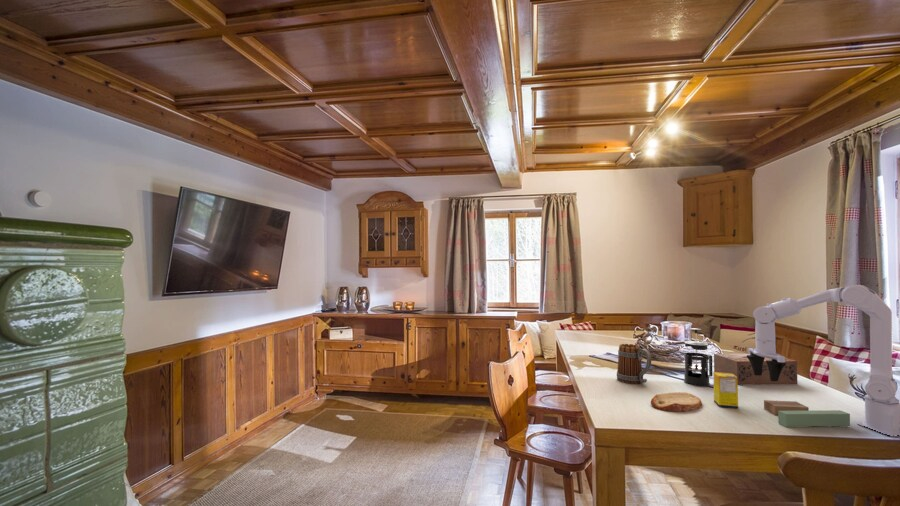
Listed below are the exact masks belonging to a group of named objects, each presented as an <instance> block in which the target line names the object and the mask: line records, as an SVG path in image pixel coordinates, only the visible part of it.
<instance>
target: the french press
mask: <svg viewBox="0 0 900 506" xmlns="http://www.w3.org/2000/svg"><path fill="white" fill-rule="evenodd" d="M690 331H694V334H695V340H688V341H687V340H685V341H684V342H683V344H685V347H686V348H687V347H691V349H693V350H695V352H690V351H689V352H684V353H683V357H684V373H683V374H684V380H683V382H684V383H685V384H687V385H690V386H695V387H710V385H711V383H710V377H713V372H714V370H713V355H711V354H705V353H701V352H698V351H707V350H708V346H709V343H707V342H703V341H697V340H698V339H697V334H698V331H702V329H701V328H697V327H696V328H695V327H694V328H692V327H691V328H690ZM693 360H694V361H695V365H693ZM698 361H700V365H698ZM698 372H699V373H698Z"/></svg>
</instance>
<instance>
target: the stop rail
mask: <svg viewBox="0 0 900 506" xmlns="http://www.w3.org/2000/svg"><path fill="white" fill-rule="evenodd" d="M777 417H778V419H777V420H778V423H779V425H781V426H783V427H785V426H786V427H785V428H808V427H807V426H840V427H839V428H844V427H843V426H850V427H851V414H850V413H848V412H846V411H843V410H839V409H838V410H835V409H834V410H829V409H828V410H809V411H778V416H777Z"/></svg>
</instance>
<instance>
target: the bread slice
mask: <svg viewBox="0 0 900 506" xmlns="http://www.w3.org/2000/svg"><path fill="white" fill-rule="evenodd" d="M650 405H651V406H652V408H654V409H655V410H659V411H662V412H675V413H686V412H694V411H696V410H698V409H700V408H702V406H703V403H702V400H701V398H699V397H698V396H697V395H694V394H692V393H688V392H682V391H681V392H680V391H679V392H668V393H661V394H660V393H659V394H655V395H654V396H653V397H652V398H651V400H650Z"/></svg>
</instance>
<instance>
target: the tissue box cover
mask: <svg viewBox="0 0 900 506" xmlns="http://www.w3.org/2000/svg"><path fill="white" fill-rule="evenodd" d="M747 355H750V354H749V353H713V372H720V373H732V374H733V375H735V376H736V377H737V381H738V386H749V385H750V386H752V385H753V386H754V385H755V386H758V385H759V386H760V385H761V386H762V385H767V386H768V385H770V386H771V385H773V386H774V385H777V386H778V385H779V386H780V385H785V386H786V385H787V386H788V385H789V386H790V385H797V386H798V384H799V383H798V360H794V359H791V358H787V357H785V362H786V365H785V366H784V367H783V369H782V371H781V373H780V376H779V379H778V381H771V380H770V373H769V368H768V365H767V363H766V360H771V359H768V358H765V359H764V362H763V366H762V375H755V374H754V371H753V368H752V365H751V363H750V361H749V359H748V358H747ZM771 361H772V360H771Z"/></svg>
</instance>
